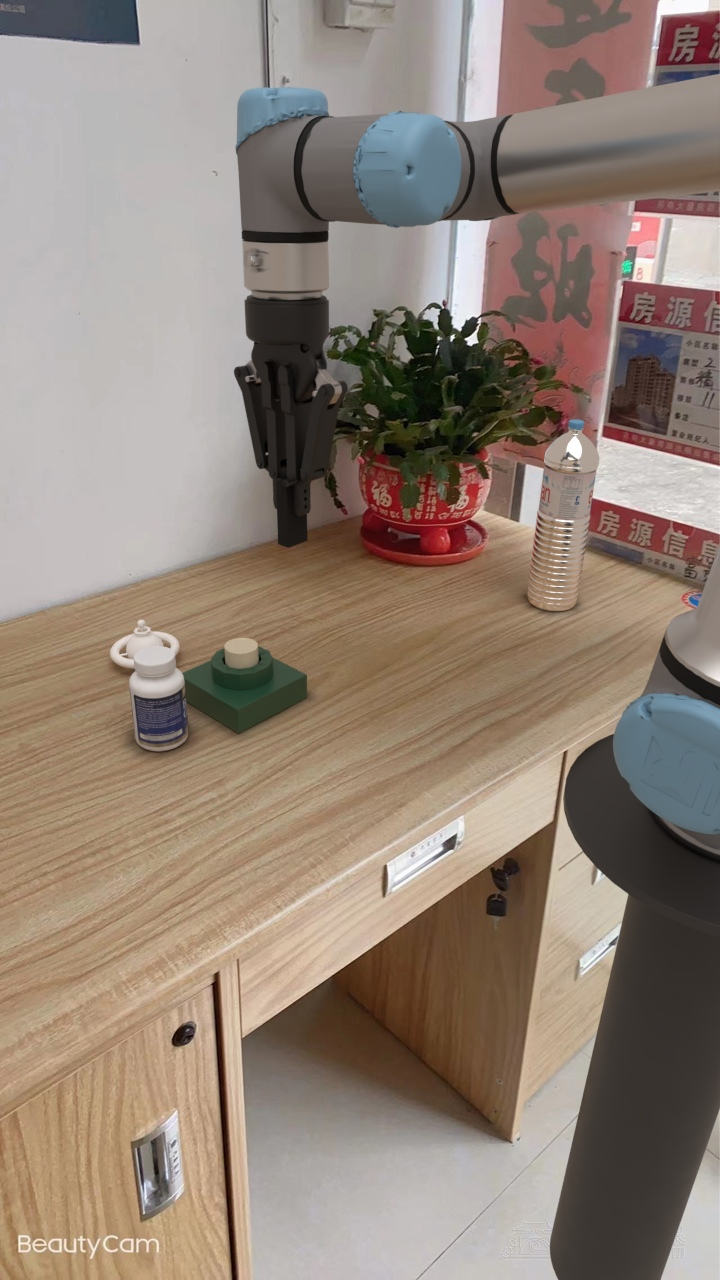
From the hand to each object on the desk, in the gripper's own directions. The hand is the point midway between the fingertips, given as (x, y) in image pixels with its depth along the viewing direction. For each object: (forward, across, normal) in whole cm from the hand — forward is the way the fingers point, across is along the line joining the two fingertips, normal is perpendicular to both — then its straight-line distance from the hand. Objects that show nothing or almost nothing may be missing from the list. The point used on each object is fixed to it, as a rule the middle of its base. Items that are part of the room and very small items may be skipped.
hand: (292, 542), depth 89 cm
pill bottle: (+19, -5, -15) cm, 24 cm away
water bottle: (+19, +7, +42) cm, 47 cm away
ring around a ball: (+19, -18, -7) cm, 27 cm away
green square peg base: (+19, -4, -4) cm, 20 cm away
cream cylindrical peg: (+14, -4, -4) cm, 15 cm away
